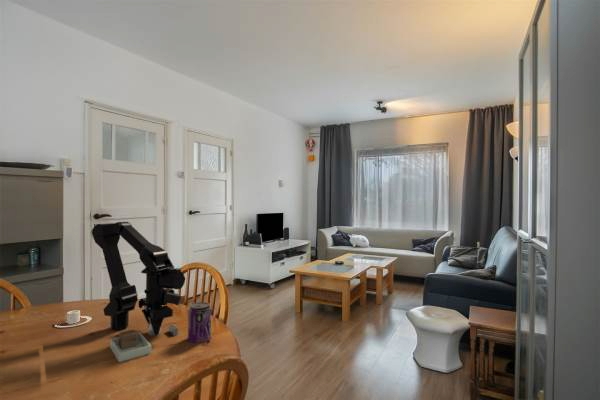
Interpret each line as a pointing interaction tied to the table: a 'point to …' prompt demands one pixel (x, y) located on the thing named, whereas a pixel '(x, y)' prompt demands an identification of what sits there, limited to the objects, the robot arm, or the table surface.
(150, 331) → the metal part
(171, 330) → the buffer stop
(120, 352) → the shallow open crate
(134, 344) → the walnut block
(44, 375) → the table surface
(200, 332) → the beverage can
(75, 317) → the candle holder
